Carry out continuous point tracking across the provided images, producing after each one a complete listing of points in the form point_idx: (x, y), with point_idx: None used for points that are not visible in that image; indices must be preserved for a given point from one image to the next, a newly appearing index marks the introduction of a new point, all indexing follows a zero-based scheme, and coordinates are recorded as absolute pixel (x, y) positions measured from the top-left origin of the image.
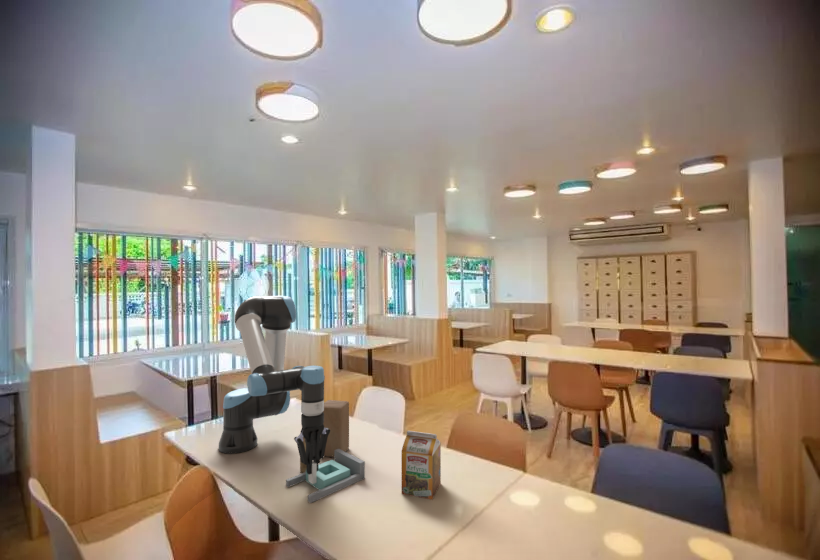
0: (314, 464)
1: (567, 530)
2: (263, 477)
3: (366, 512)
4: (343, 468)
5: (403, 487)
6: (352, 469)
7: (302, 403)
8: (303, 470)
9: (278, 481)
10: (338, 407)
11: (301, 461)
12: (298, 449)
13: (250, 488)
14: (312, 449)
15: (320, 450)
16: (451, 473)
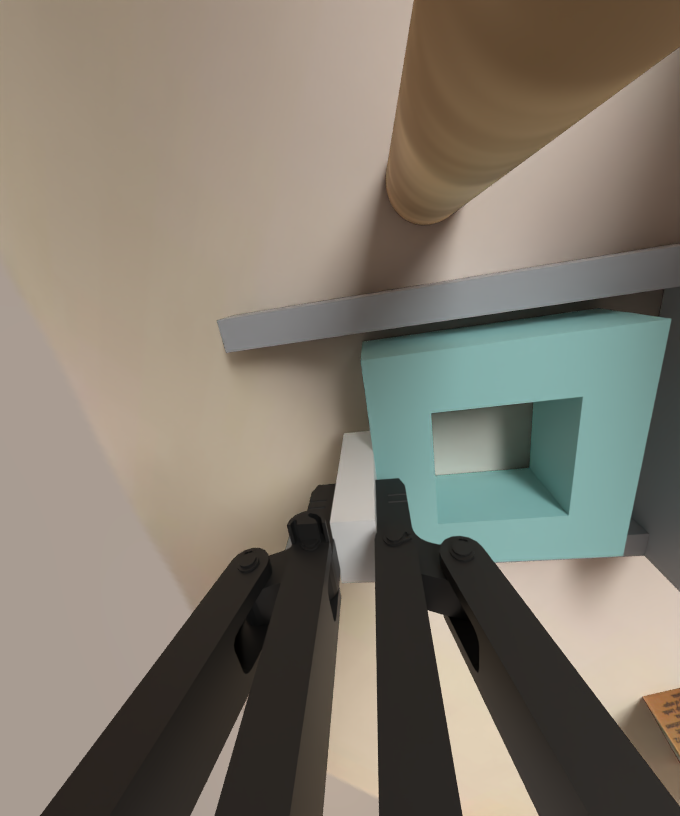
0: (359, 581)
1: None
2: (95, 49)
3: (443, 694)
4: (600, 519)
5: (669, 739)
6: (666, 492)
7: None
8: (400, 209)
9: (199, 219)
10: None
11: (231, 573)
12: (86, 764)
13: (10, 198)
14: (318, 795)
15: (481, 669)
16: None
